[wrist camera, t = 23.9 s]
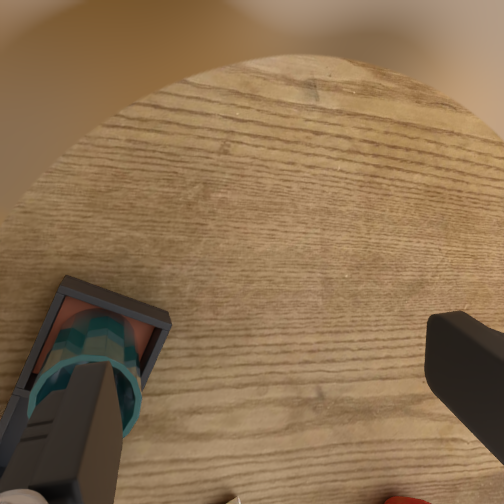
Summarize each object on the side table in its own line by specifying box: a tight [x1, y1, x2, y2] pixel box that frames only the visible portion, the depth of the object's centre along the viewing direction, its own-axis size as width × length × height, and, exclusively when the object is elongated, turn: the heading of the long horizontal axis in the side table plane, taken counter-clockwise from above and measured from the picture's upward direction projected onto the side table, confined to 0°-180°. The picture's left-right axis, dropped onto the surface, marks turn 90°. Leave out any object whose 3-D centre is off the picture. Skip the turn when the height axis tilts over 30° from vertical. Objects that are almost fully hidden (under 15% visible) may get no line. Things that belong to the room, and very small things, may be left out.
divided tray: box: [0, 275, 172, 480], centre depth 35 cm, size 17×9×4 cm, turn 155°
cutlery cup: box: [27, 308, 142, 438], centre depth 31 cm, size 6×6×10 cm
